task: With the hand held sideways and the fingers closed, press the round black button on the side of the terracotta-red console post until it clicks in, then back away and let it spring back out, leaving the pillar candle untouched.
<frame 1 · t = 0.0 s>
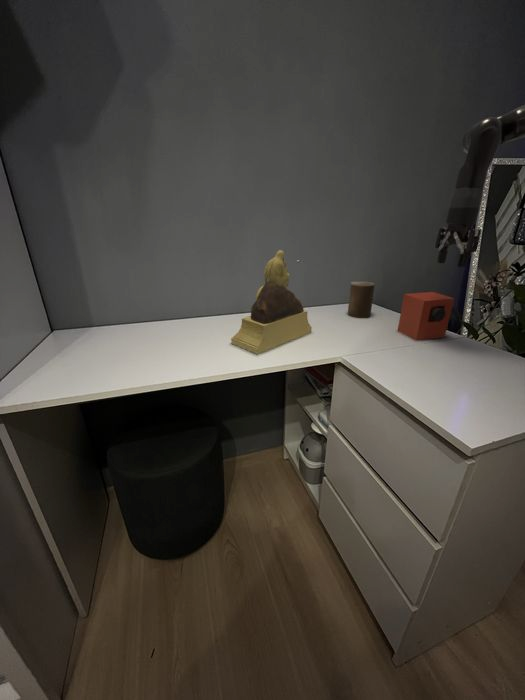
hand: (450, 264, 92), 26 cm above the table, tool pointing down, fingers open, 8 cm apart
yellow and brown statue: (273, 338, 107), on the table
pillar candle: (358, 314, 132), on the table
button: (437, 314, 101), point 9 cm above the table, slide at -0.1 cm
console: (420, 333, 109), on the table
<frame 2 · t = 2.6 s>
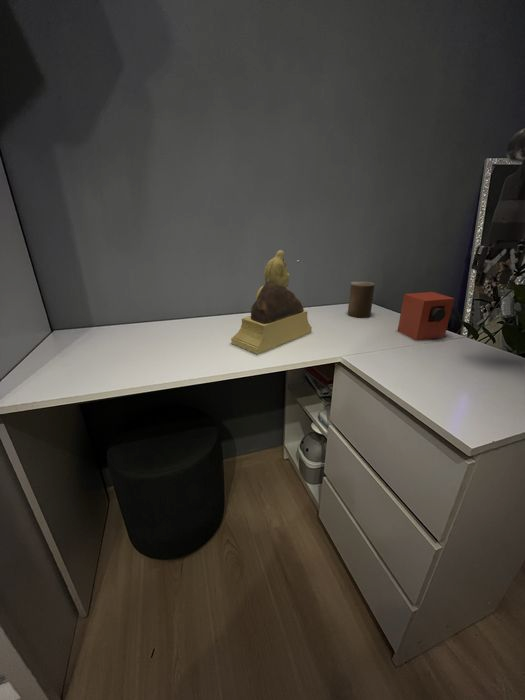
hand: (490, 285, 82), 22 cm above the table, tool pointing down, fingers open, 7 cm apart
nothing on the table moved.
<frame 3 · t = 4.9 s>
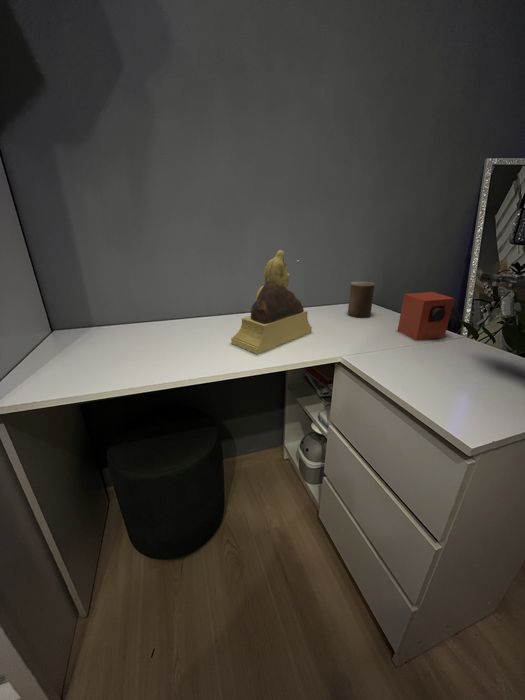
hand: (482, 276, 84), 24 cm above the table, tool horizontal, fingers closed
nothing on the table moved.
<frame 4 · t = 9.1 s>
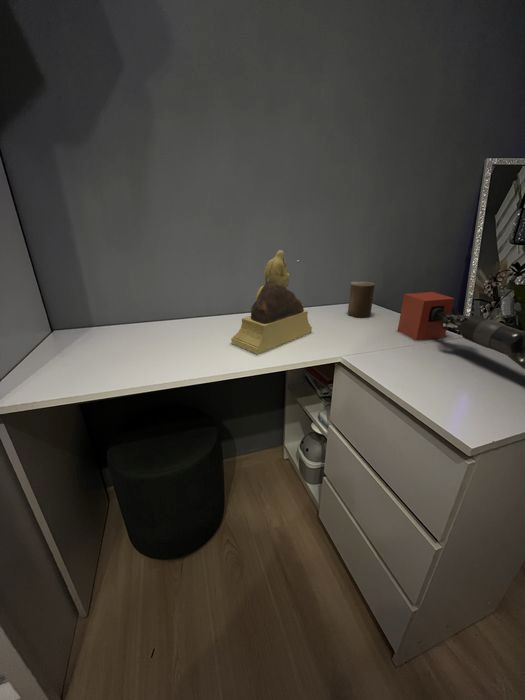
hand: (438, 314, 100), 9 cm above the table, tool horizontal, fingers closed
button: (436, 314, 101), point 9 cm above the table, slide at 0.4 cm, touching gripper
everything else where it was.
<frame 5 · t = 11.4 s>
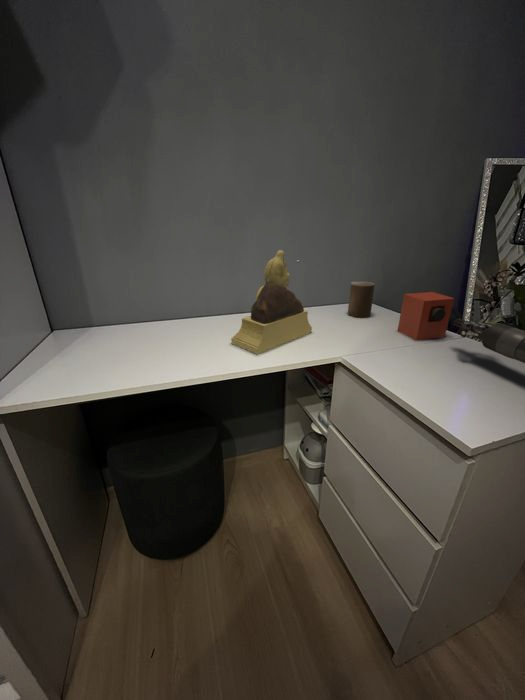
hand: (455, 321, 94), 9 cm above the table, tool horizontal, fingers closed
button: (437, 314, 101), point 9 cm above the table, slide at -0.1 cm
everything else where it was.
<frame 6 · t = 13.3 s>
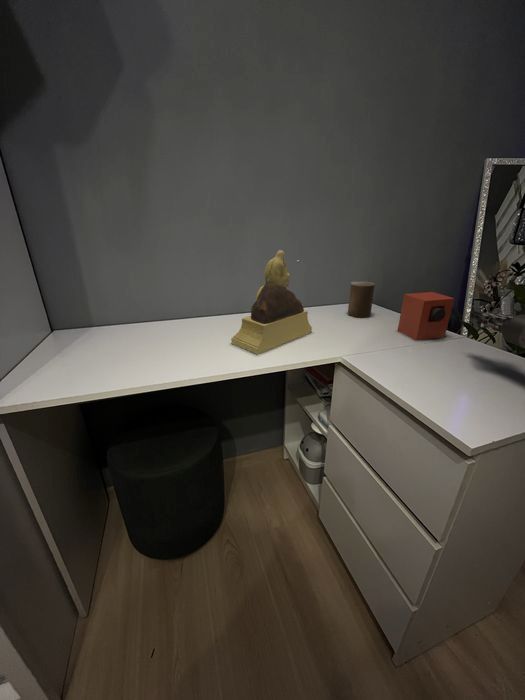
hand: (472, 313, 88), 13 cm above the table, tool horizontal, fingers closed
nothing on the table moved.
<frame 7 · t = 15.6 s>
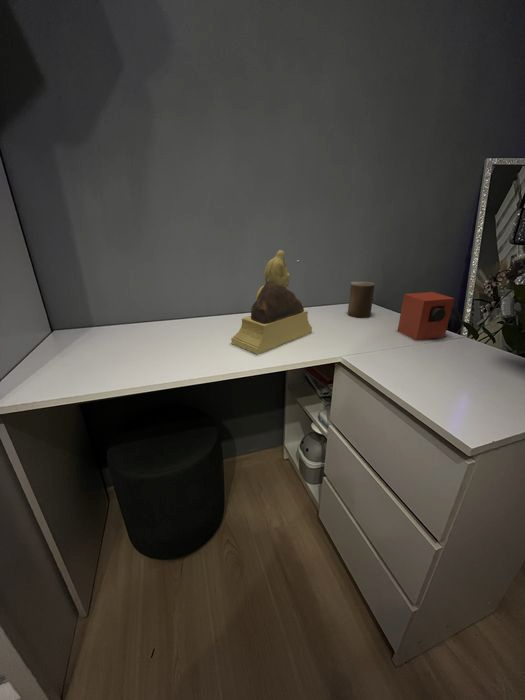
hand: (508, 277, 83), 24 cm above the table, tool tilted 45°, fingers closed
nothing on the table moved.
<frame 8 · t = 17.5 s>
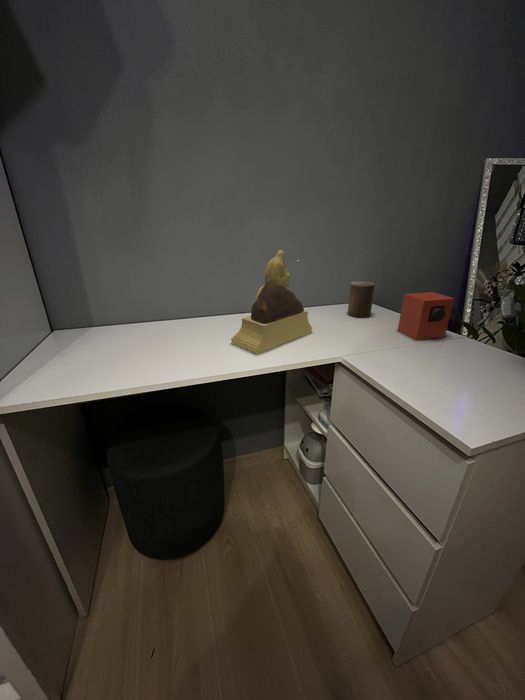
nothing on the table moved.
at the end: button pulled out 1.3 cm at the most during the clip, back to where it started at the end; button slide at -0.1 cm; pillar candle moved 0.2 cm from its start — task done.
